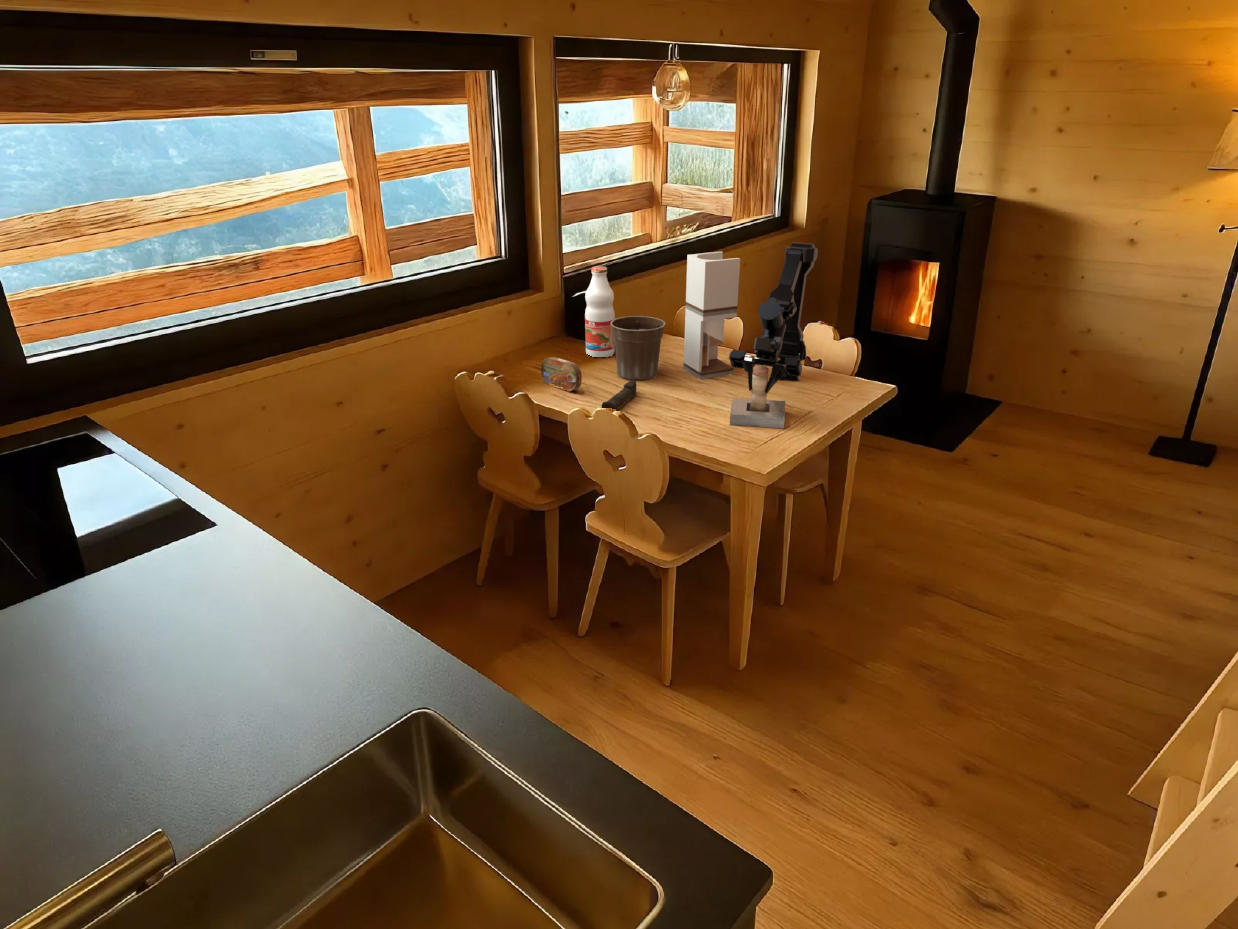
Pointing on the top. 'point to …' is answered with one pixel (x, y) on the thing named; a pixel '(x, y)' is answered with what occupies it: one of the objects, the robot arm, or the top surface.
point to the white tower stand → (708, 311)
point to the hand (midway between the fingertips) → (758, 391)
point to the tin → (561, 373)
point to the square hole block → (757, 414)
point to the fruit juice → (599, 315)
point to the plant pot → (637, 346)
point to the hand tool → (622, 396)
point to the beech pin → (759, 388)
